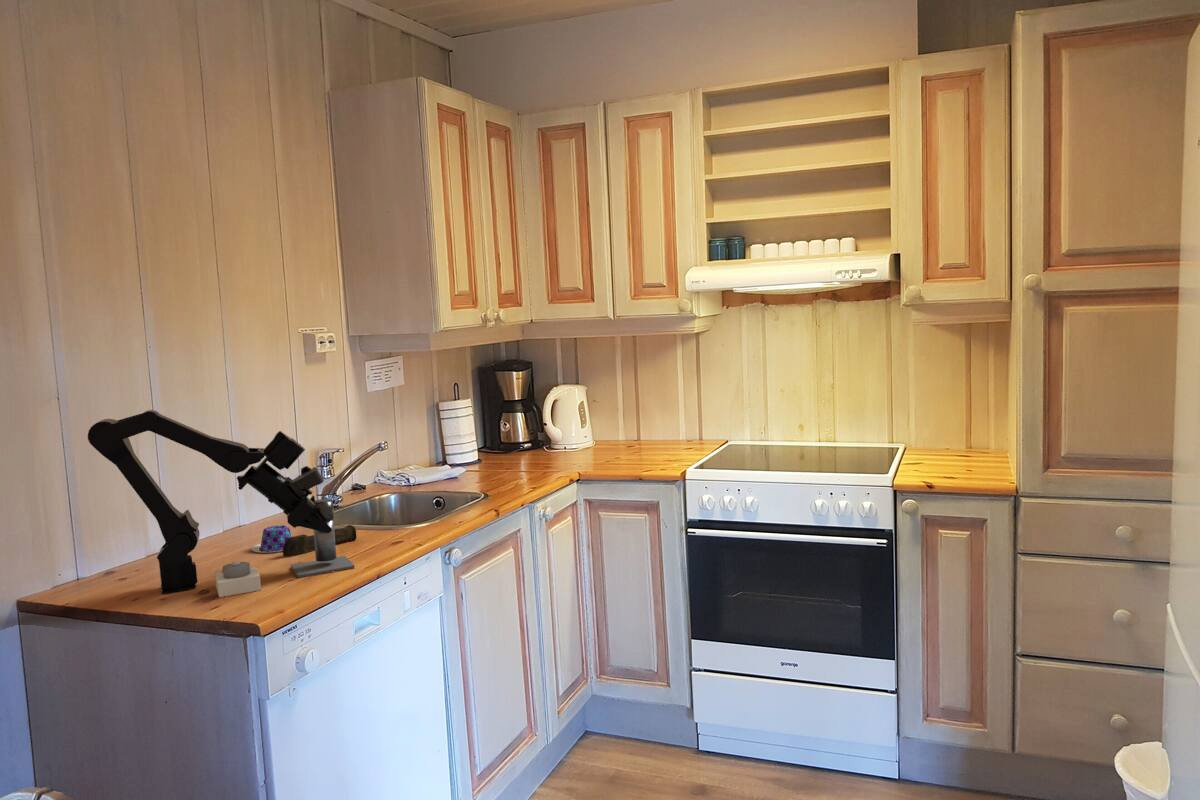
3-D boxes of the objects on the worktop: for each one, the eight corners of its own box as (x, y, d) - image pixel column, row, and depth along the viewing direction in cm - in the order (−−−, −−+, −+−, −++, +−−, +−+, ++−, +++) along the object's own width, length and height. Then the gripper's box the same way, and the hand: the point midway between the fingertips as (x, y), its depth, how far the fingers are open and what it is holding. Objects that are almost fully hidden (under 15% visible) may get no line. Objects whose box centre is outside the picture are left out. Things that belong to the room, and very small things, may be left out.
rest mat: (298, 578, 192) (297, 575, 192) (290, 567, 201) (290, 564, 201) (354, 568, 197) (354, 565, 197) (345, 558, 206) (345, 555, 206)
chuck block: (219, 597, 181) (216, 570, 181) (216, 587, 188) (213, 561, 188) (261, 589, 185) (258, 563, 184) (256, 580, 192) (254, 555, 191)
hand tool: (349, 539, 225) (348, 521, 225) (358, 541, 222) (356, 522, 222) (278, 557, 212) (276, 537, 211) (286, 559, 209) (284, 540, 208)
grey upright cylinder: (322, 563, 196) (317, 504, 195) (310, 559, 199) (306, 502, 198) (341, 557, 199) (337, 500, 198) (330, 554, 203) (325, 498, 201)
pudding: (284, 555, 213) (282, 534, 212) (241, 554, 216) (238, 533, 215) (312, 542, 224) (311, 521, 224) (271, 541, 227) (269, 521, 227)
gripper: (299, 463, 187) (358, 508, 192) (298, 451, 204) (351, 493, 209) (262, 504, 185) (322, 549, 190) (264, 489, 203) (319, 530, 207)
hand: (330, 529), depth 199 cm, fingers closed on grey upright cylinder, 4 cm apart
